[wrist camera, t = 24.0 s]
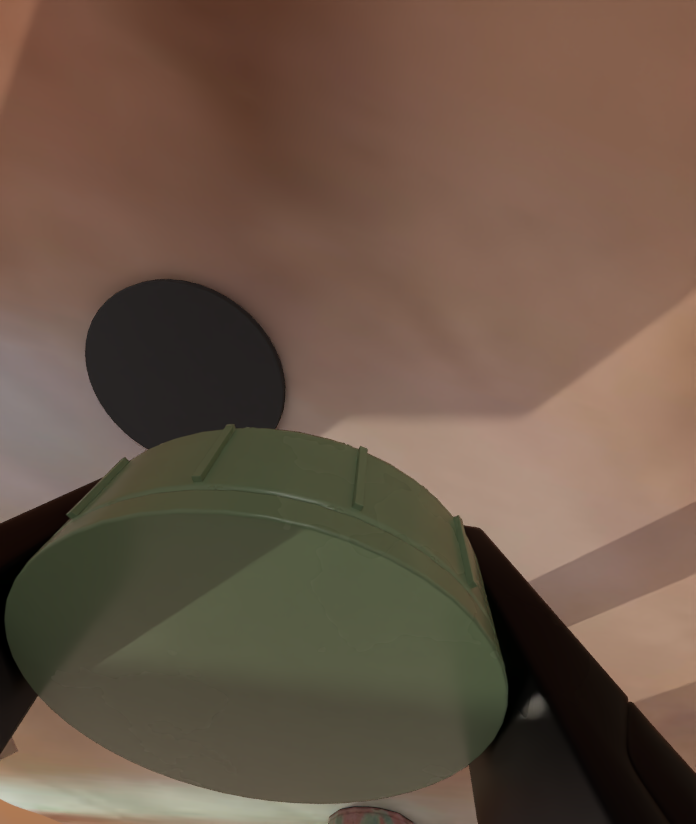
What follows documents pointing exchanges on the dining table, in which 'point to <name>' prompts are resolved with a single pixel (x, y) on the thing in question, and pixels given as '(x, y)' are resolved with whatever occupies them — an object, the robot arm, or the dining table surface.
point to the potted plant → (367, 816)
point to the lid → (265, 621)
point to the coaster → (181, 363)
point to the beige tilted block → (8, 749)
